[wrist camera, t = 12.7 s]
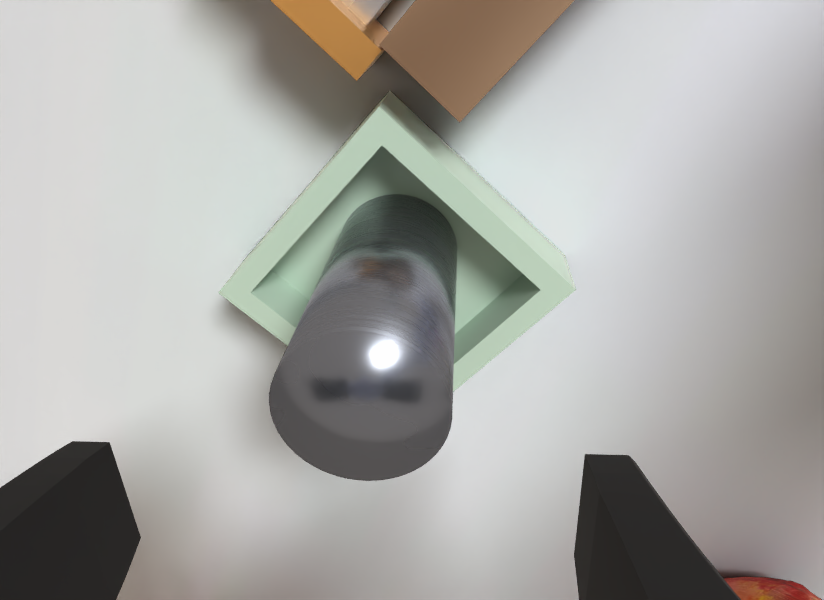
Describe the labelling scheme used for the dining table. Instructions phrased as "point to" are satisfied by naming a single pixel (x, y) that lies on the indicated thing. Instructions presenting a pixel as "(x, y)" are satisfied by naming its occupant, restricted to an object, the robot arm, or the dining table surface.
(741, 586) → the pomegranate
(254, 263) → the tray
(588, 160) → the dining table surface
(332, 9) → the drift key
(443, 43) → the socket block
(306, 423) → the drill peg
